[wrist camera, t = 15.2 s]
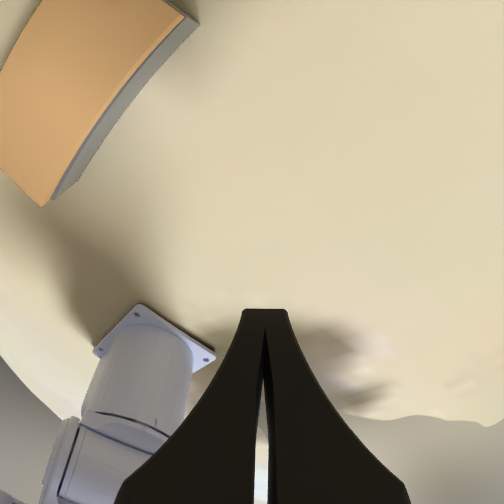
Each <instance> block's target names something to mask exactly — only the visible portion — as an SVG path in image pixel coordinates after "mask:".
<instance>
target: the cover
mask: <svg viewBox="0 0 504 504" xmlns="http://www.w3.org/2000/svg"><path fill="white" fill-rule="evenodd" d="M183 18H184V16H183V15H181V14H180V13H179V12H178V11H176V10H175V9H174V8H172V7H171V6H170V5H168V4H167V3H166V2H164V1H163V0H42V2H41V3H40V5H39V6H38V8H37V9H36V11H35V12H34V14H33V15H32V17H31V18H30V20H29V21H28V23H27V25H26V26H25V28H24V30H23V31H22V33H21V35H20V36H19V38H18V40H17V42H16V43H15V45H14V47H13V49H12V51H11V53H10V54H9V56H8V58H7V60H6V62H5V64H4V66H3V68H2V70H1V72H0V168H1V169H2V170H3V171H4V172H5V173H6V174H7V175H8V176H9V177H10V178H11V179H12V180H13V181H14V182H15V183H16V184H17V185H18V186H19V187H20V188H21V189H22V190H23V191H24V192H25V193H26V194H27V195H28V196H29V197H30V198H32V199H33V200H34V201H35V202H36V203H37V204H38V205H39V206H40V207H42V206H44V205H45V204H46V203H47V202H48V201H49V200H50V198H51V196H52V194H53V192H54V190H55V188H56V187H57V185H58V183H59V181H60V179H61V178H62V176H63V174H64V172H65V171H66V169H67V167H68V166H69V164H70V162H71V161H72V159H73V157H74V156H75V154H76V152H77V151H78V149H79V148H80V146H81V145H82V143H83V141H84V140H85V138H86V137H87V135H88V134H89V132H90V131H91V129H92V128H93V126H94V125H95V124H96V122H97V121H98V119H99V118H100V116H101V115H102V114H103V112H104V111H105V109H106V108H107V107H108V105H109V104H110V103H111V101H112V100H113V99H114V97H115V96H116V95H117V93H118V92H119V91H120V89H121V88H122V87H123V86H124V84H125V83H126V82H127V80H128V79H129V78H130V77H131V76H132V74H133V73H134V72H135V71H136V69H137V68H138V67H139V66H140V65H141V64H142V62H143V61H144V60H145V59H146V58H147V57H148V55H149V54H150V53H151V52H152V51H153V50H154V49H155V48H156V46H157V45H158V44H159V43H160V42H161V41H162V40H163V39H164V38H165V37H166V36H167V35H168V34H169V33H170V31H171V30H172V29H173V28H174V27H175V26H176V25H177V24H178V23H179V22H180V21H181V20H182V19H183Z"/></svg>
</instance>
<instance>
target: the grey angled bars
mask: <svg viewBox="0 0 504 504" xmlns="http://www.w3.org/2000/svg"><path fill="white" fill-rule="evenodd" d="M163 1H164V2H166V3H167V4H168V5H170V6H171V7H172V8H174V9H175V10H176V11H178V12H179V13H180V14H181V15H183V16H184V18H183V19H182V20H181V21H180V22H179V23H178V24H177V25H176V26H175V27H174V28H173V29H172V30H171V31H170V33H169V34H168V35H167V36H166V37H165V38H164V39H163V40H162V41H161V42H160V43H159V44H158V45H157V46H156V48H155V49H154V50H153V51H152V52H151V53H150V54H149V55H148V57H147V58H146V59H145V60H144V61H143V62H142V64H141V65H140V66H139V67H138V68H137V69H136V71H135V72H134V73H133V74H132V76H131V77H130V78H129V79H128V80H127V82H126V83H125V84H124V86H123V87H122V88H121V89H120V91H119V92H118V93H117V95H116V96H115V97H114V99H113V100H112V101H111V103H110V104H109V105H108V107H107V108H106V109H105V111H104V112H103V114H102V115H101V116H100V118H99V119H98V121H97V122H96V124H95V125H94V126H93V128H92V129H91V131H90V132H89V134H88V135H87V137H86V138H85V140H84V141H83V143H82V145H81V146H80V148H79V149H78V151H77V152H76V154H75V156H74V157H73V159H72V161H71V162H70V164H69V166H68V167H67V169H66V171H65V172H64V174H63V176H62V178H61V179H60V181H59V183H58V185H57V187H56V188H55V190H54V192H53V194H52V196H51V198H52V199H53V200H55V199H56V198H57V197H58V196H59V195H61V194H62V193H63V192H64V191H65V190H67V189H68V188H69V187H70V186H72V185H73V184H74V183H75V182H77V181H78V179H79V178H80V176H81V174H82V173H83V171H84V170H85V168H86V166H87V165H88V163H89V162H90V160H91V158H92V157H93V155H94V154H95V152H96V151H97V149H98V148H99V146H100V145H101V143H102V142H103V140H104V139H105V137H106V136H107V135H108V133H109V132H110V130H111V129H112V127H113V126H114V125H115V123H116V122H117V121H118V119H119V118H120V116H121V115H122V114H123V112H124V111H125V110H126V108H127V107H128V106H129V104H130V103H131V102H132V101H133V99H134V98H135V97H136V96H137V94H138V93H139V92H140V90H141V89H142V88H143V87H144V86H145V84H146V83H147V82H148V81H149V79H150V78H151V77H152V76H153V75H154V74H155V72H156V71H157V70H158V69H159V68H160V67H161V65H162V64H163V63H164V62H165V61H166V60H167V59H168V58H169V56H170V55H171V54H172V53H173V52H174V51H175V50H176V49H177V48H178V47H179V46H180V44H181V43H182V42H183V41H184V40H185V39H186V38H187V37H188V36H189V35H190V34H191V33H192V32H193V31H194V30H195V29H196V28H197V27H198V26H199V25H200V24H198V23H197V22H196V21H194V20H193V19H192V18H191V17H189V16H188V15H187V14H185V13H184V12H183V11H181V10H180V9H179V8H177V7H176V6H175V5H173V4H172V3H171V2H169V1H168V0H163Z"/></svg>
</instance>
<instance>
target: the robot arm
mask: <svg viewBox="0 0 504 504" xmlns="http://www.w3.org/2000/svg"><path fill="white" fill-rule="evenodd" d="M137 313H139V314H137ZM93 354H94V355H96V356H97V357H99V358H100V361H99V363H98V366H97V368H96V371H95V373H94V375H93V378H92V380H91V383H90V385H89V388H88V391H87V393H86V396H85V398H84V401H83V404H82V409H81V416H82V419H81V421H80V419H79V418H77V417H75V416H71V418H67V419H64V420H63V422H62V425H61V427H60V430H59V432H58V435H57V438H56V441H55V443H54V446H53V449H52V452H51V455H50V458H49V462H48V465H47V468H46V471H45V474H44V478H43V482H42V484H43V489H42V492H41V496H40V500H39V504H254V478H255V445H256V433H257V425H258V417H259V409H260V401H261V392H262V384H263V380H264V392H265V403H266V414H267V425H268V440H269V459H268V503H267V504H411V502H410V499H409V496H408V493H407V490H406V488H405V485H404V483H403V482H402V481H400V480H399V479H398V478H397V477H396V476H395V475H393V473H392V472H390V471H389V470H388V469H387V468H386V467H385V466H384V465H383V464H382V463H381V462H380V461H379V460H378V459H377V458H376V457H375V456H374V455H373V454H372V453H371V452H370V451H369V450H368V449H367V448H366V447H365V445H363V443H362V442H361V441H360V440H359V439H358V437H357V436H356V435H355V434H354V433H353V431H352V430H351V429H350V428H349V427H348V425H347V424H346V423H345V422H344V420H343V419H342V418H341V416H340V415H339V413H338V412H337V411H336V409H335V408H334V406H333V405H332V404H331V402H330V401H329V399H328V398H327V396H326V394H325V393H324V391H323V390H322V388H321V386H320V385H319V383H318V381H317V380H316V378H315V376H314V374H313V373H312V371H311V369H310V367H309V365H308V363H307V361H306V359H305V357H304V355H303V353H302V351H301V349H300V346H299V344H298V342H297V339H296V337H295V335H294V332H293V329H292V327H291V324H290V320H289V317H288V313H287V311H286V310H285V309H245V310H243V311H242V315H241V319H240V322H239V326H238V328H237V331H236V334H235V336H234V338H233V341H232V343H231V345H230V347H229V349H228V352H227V354H226V356H225V358H224V360H223V362H222V364H221V365H220V367H219V369H218V371H217V372H216V374H215V376H214V378H213V379H212V381H211V383H210V384H209V386H208V388H207V389H206V391H205V392H204V394H203V395H202V397H201V398H200V400H199V401H198V403H197V404H196V405H195V407H194V408H193V409H192V411H191V412H190V413H189V415H188V416H187V417H186V418H185V420H184V414H185V409H186V403H187V398H188V392H189V387H190V381H191V376H192V373H194V372H195V371H197V370H199V369H200V368H202V367H204V366H205V365H207V364H209V363H210V362H212V361H214V360H215V359H216V353H215V352H213V351H212V350H210V349H208V348H207V347H205V346H204V345H202V344H201V343H199V342H197V341H196V340H194V339H193V338H191V337H190V336H188V335H187V334H185V333H184V332H182V331H181V330H179V329H178V328H176V327H175V326H173V325H172V324H170V323H169V322H167V321H166V320H164V319H163V318H161V317H160V316H158V315H157V314H156V313H154V312H153V311H151V310H150V309H148V308H147V307H146V306H144V305H142V304H137V305H136V306H135V307H134V308H133V309H132V310H131V311H130V312H129V313H128V314H127V315H126V316H125V317H124V318H123V319H122V320H121V321H120V322H119V323H118V324H117V325H116V326H115V327H114V328H113V329H112V330H111V331H110V332H109V333H108V334H107V335H106V336H105V337H104V338H103V339H102V340H101V341H100V342H99V343H98V345H97V346H96V347H95V348H94V349H93ZM183 420H184V421H183ZM79 421H80V423H79ZM0 504H26V503H24V502H22V501H20V500H18V499H16V498H14V497H13V496H11V495H10V494H8V493H6V492H5V491H3V490H1V489H0ZM502 504H504V503H502Z"/></svg>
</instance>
